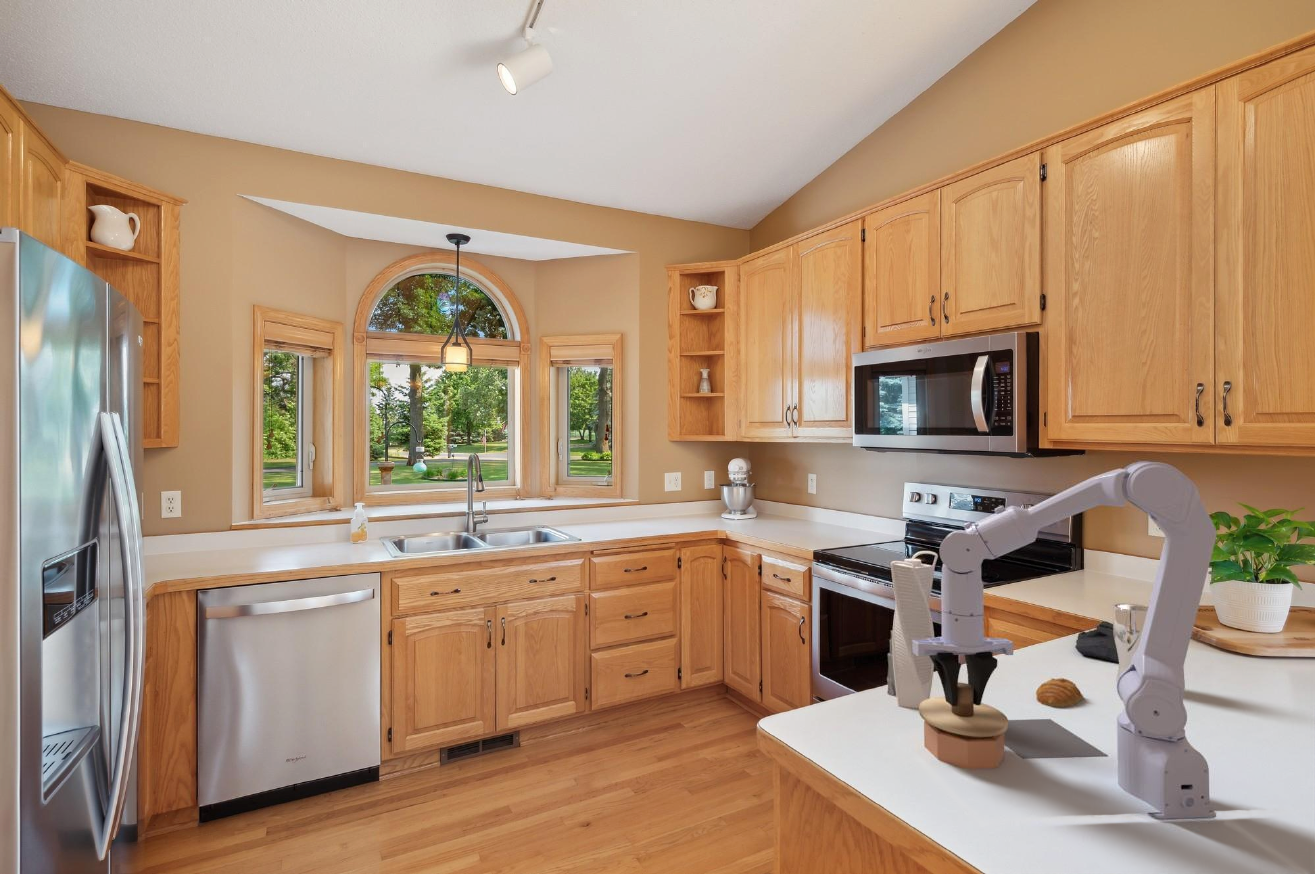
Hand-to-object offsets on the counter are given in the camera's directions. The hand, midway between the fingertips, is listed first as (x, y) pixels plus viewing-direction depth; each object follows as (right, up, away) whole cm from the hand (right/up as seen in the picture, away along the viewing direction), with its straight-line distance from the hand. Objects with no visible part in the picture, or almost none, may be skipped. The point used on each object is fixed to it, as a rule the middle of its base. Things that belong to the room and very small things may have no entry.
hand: (963, 702), depth 97 cm
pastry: (+27, -9, +21) cm, 35 cm away
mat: (+14, -8, +5) cm, 17 cm away
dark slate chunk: (+58, -10, +51) cm, 78 cm away
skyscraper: (0, -9, +19) cm, 21 cm away
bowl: (0, -8, 0) cm, 8 cm away
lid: (0, -2, 0) cm, 2 cm away
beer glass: (+48, -9, +29) cm, 57 cm away
